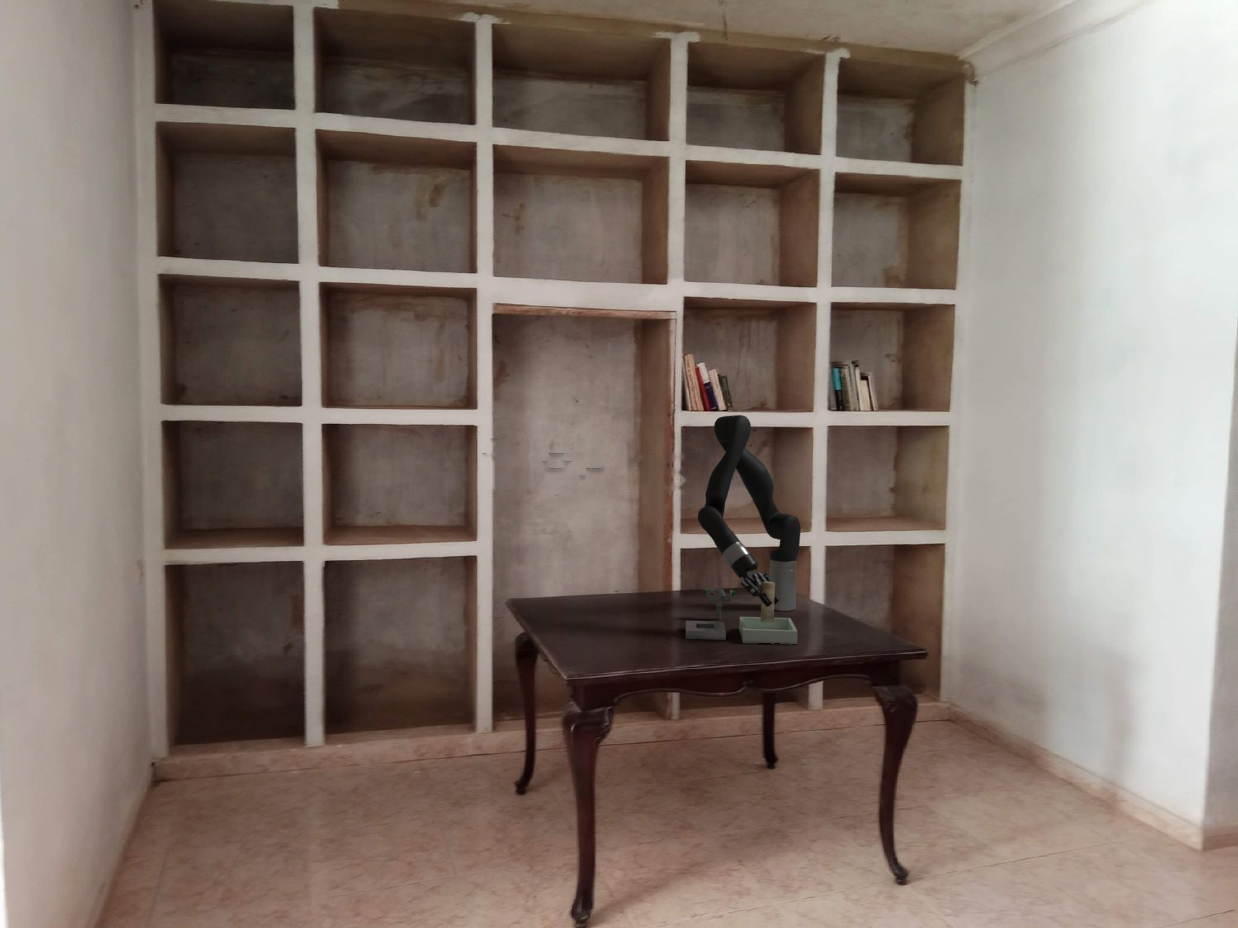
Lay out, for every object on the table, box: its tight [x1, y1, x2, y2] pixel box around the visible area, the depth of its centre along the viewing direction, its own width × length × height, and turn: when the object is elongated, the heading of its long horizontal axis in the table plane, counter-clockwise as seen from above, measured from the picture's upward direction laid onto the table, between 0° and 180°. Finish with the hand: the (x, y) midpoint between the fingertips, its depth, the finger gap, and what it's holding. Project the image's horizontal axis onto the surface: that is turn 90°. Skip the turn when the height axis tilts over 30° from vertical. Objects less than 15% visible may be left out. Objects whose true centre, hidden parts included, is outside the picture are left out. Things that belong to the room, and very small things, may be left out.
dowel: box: [760, 582, 775, 623], centre depth 261 cm, size 4×4×12 cm
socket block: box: [685, 620, 727, 641], centre depth 264 cm, size 12×12×2 cm
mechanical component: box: [702, 587, 736, 620], centre depth 282 cm, size 3×10×10 cm, turn 79°
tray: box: [738, 616, 798, 645], centre depth 261 cm, size 16×16×4 cm
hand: (773, 603), depth 260 cm, fingers closed on dowel, 4 cm apart
